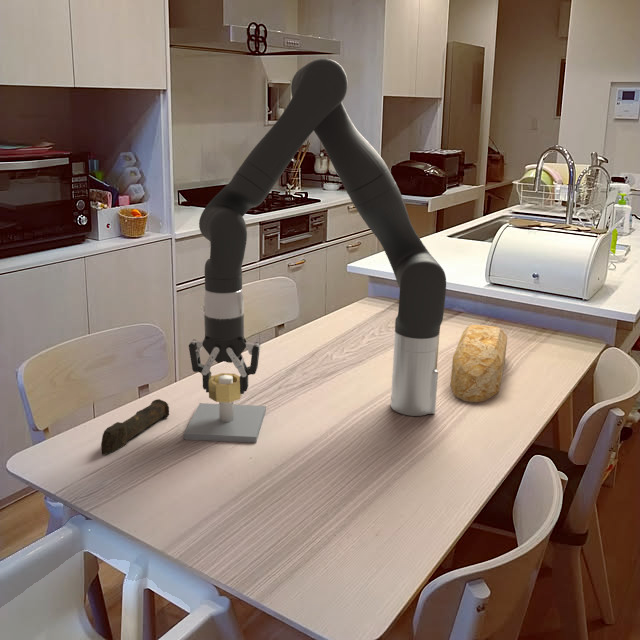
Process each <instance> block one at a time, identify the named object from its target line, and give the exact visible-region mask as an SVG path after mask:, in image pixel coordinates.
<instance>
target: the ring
mask: <svg viewBox="0 0 640 640" xmlns="http://www.w3.org/2000/svg"><path fill="white" fill-rule="evenodd" d="M222 375H230V376H232V377H233V383H231V384H219V377H220V376H222ZM240 376H241V375H238V374H236V373H228V372H227V373H226V372H224V373H223V372H221V373H219V374H218V373H217V374H215V375H211V378H210V380H209V392H208V398H209V399H210V400H212V401H214V402H216V403H219V402H233V401H234V402H236V401H239V400H241V398H242V395H243V394H240ZM234 402H233V403H234Z"/></svg>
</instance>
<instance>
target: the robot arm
mask: <svg viewBox="0 0 640 640" xmlns="http://www.w3.org/2000/svg"><path fill="white" fill-rule="evenodd" d="M348 87H349V82H348V76H347V74H346V71H345V70H344V68H343V66H342V65H341V64H340V63H338V61H336V60H332V59H329V58H319V59H314V60H312V61H309V63H308V62H307V64H305V65H304V66H302V67H301V68H299V69H298V70H297V71H296V73H295V74H294V76H293V77H292V80H291V85H290V92H291V97H292V98H291V99H290V100H289V103H288V105H287V106H286V107H285V109H284V111H283V113H282V114H281V115H280V117H279V118H278V120H276V122H275V123H274V125H273V126H272V127H271V128H270V129H269V130H268V131H267V133H266V134H265V135H263V137H262V138H261V139H260V141H259V142H257V144H256V145H255V147H254V148H253V149H252V150H251V152H250V153H249V154H248V155H247V157H246V158H245V160H243V162H242V163H241V165H240V166H239V168H238V169H237V170H236V173H235V174H234V175H233V177H232V178H231V180H230V181H229V182H228V184H226V185H225V186H224V187H223V188H222V189H221V190H220V191H219V192H218V193H217V194H216V195H215V196H213V198H212V199H211V200H210V201H209V202H208V204H206V206H205V208H203V210H202V213H201V215H200V217H199V220H198V221H199V222H198V227H199V231H200V233H201V235H202V236H203V237H204V238H205V239H206V240H208V241H210V242H209V243H210V252H209V258H208V259H207V260H206V261H205V265H204V297H203V313H204V315H203V316H204V339H203V340H197V339H192V340H191V341H190V342H189V344H188V350H189V358H190V362H191V363H190V364H191V369H192V372H194V373H200V374H201V375H202V388H203V390H205V393H209V380H210V378H211V376H212V371H211V368H212V366H213V364H214V363H215V362H216V363H222V362H226V363H231V364H232V363H233V365H234V366H235V367H234V368H235V369H237V370H238V373H239V376H240V394H242V395H245V392H247V390H248V387H249V376H250V375H255V374H257V373H256V372H257V371H258V367H259V359H260V352H261V343H260V342H259V341H256V342H255V343H253V342H248V341H246V337H245V302H244V294H243V292H244V291H243V268H242V267H243V262H244V257H245V252H246V247H247V240H248V239H247V238H248V233H247V232H248V231H247V225H246V220H245V219H244V216H245V215H246V213H247V212H248V211H249V210H250V209H253V208H255V207H258V206H260V205H261V204H262V203H263V202H264V200H265V199H266V198H267V197H268V195H269V193H270V192H271V190H272V189H273V188H274V186H275V184H277V182H278V181H279V179H280V178H281V177H282V175H283V173H284V172H285V170H286V169H287V167H288V166H289V165H290V163H291V162H292V159H294V157H295V156H296V155H297V153H298V151H299V150H300V149H301V147H302V146H303V144H304V143H305V141H307V140H308V138H309V137H310V136H311V134H312V133H313V132H314V133H315V135H316V136H317V138H318V140H319V141H320V142H321V144H322V146H323V148H324V151H325V152H326V154H327V156H328V159H329V161H330V162H331V165H332V166H333V168H334V170H335V172H336V174H337V175H338V178H339V180H340V181H341V183H342V186H343V187H344V189H345V191H346V193H347V195H348V197H349V198H350V200H351V202H352V204H353V206H354V208H355V209H356V211H357V212H358V213H359V216H361V217H360V218H362V220H363V221H364V223H365V224H366V226H367V227H368V228H369V230H370V231H371V233H372V234H373V235H374V236H375V238H377V240H378V242H379V243H380V245H381V246H382V249H383V250H384V253H385V255H386V257H387V259H388V261H389V264H390V266H391V269H392V272H393V274H394V278H395V280H396V283H397V285H398V287H399V294H398V295H399V298H398V310H397V311H398V313H397V315H396V318H395V320H394V321H395V322H394V337H393V338H394V339H393V340H394V341H393V357H392V373H391V374H392V375H391V393H390V394H391V395H390V407H391V409H392V410H393V411H395V412H396V413H399V414H401V415H404V416H411V417H419V416H420V417H421V416H427V415H428V414H436V406H437V405H436V404H437V392H438V380H439V371H438V358H439V345H440V333H441V332H440V330H441V325H442V324H443V323H442V322H443V319H444V313H445V304H446V303H445V302H446V295H447V294H446V293H447V276H446V273H445V270H444V268H443V267H442V266H441V265H440V264H439V262H438V261H437V260H436V259H435V258H434V257H433V256H432V254H431V253H430V251H429V250H428V249H427V247H426V246H425V245H424V243H423V241H422V240H421V238H420V237H419V235H418V234H417V232H416V230H415V228H414V226H413V224H412V223H411V218H410V217H409V213H408V210H407V207H406V204H405V201H404V198H403V196H402V193H401V190H400V188H399V187H398V185H397V184H398V183H397V182H396V181H395V179H394V176H393V175H392V173H391V171H390V169H389V168H388V165H387V163H386V162H385V160H384V159H383V157H381V155H380V154H379V153H378V151H377V149H375V148H374V147H373V146H372V144H370V142H369V141H368V140H367V139H366V138H365V137H364V136H363V135H362V133H361V132H360V131H359V130H358V129H357V127H356V126H355V125H354V123H353V121H352V119H351V118H350V116H349V114H348V112H347V110H346V108H345V106H344V104H343V100H344V99H345V97H346V95H347V92H348ZM202 347H203V349H204V350H205V351H206V352H207V353H208V355H209V356H208V359H207V360H206V362H205V364H202V360H201V355H200V352H201V351H202ZM245 349H247V352H248V354H249V355H250V356H251V358H250V365H249V366H248V365H247V363H246V361H245V358H244V357H243V352H244V351H245Z"/></svg>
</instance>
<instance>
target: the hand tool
mask: <svg viewBox="0 0 640 640" xmlns="http://www.w3.org/2000/svg"><path fill="white" fill-rule="evenodd" d="M169 415H170V407H169V403H168V402H167V401H164V400H162V399H160V398H159V399H157V398H156V399H154V400H153V401H151V403H150V404H149V405H148V406H146V407H144V408H143V409H139V410H138V411H137V412H136V413H135V414H134V415H132V416H130V418H127V419H126V420H124V421H123V422H119V421H117V422H115V423H113V424H112V425H111V426H108V427H107V428H106V429H105V430H104V431H103V433H102V437H101V443H100V445H101V450H100V451H101V456H105V455H108V454H112V453H113V452H115V451H118V450H120V449H121V448H123V447H126V445H127V443H128V441H129V440H131V439H132V438H133V437H135V436H137V435H138V434H141V433H142V432H143V431H144V430H145V429H147V428H149V427H150V426H152V425H153V424H155V423H156V422H159V420H161V419H162V418H163V419H167V418H168V417H169Z"/></svg>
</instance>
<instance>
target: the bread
mask: <svg viewBox="0 0 640 640" xmlns="http://www.w3.org/2000/svg"><path fill="white" fill-rule="evenodd" d="M461 333H462V334H461V336H460V339H459V341H458V342H457V343H458V344H457V345H456V348H455V351H454V354H453V356H452V363H451V375H450V387H451V389H452V393H453V396H454V397H456V398H458V399H460V400H462V401H463V402H470V403H480V402H484V401H487V400H490V398H492V397H493V396H495V395H496V394H498V393H499V392H500V388H501V383H502V377H503V372H504V368H505V362H506V352H507V345H508V336H507V334H506V333H505V331H504V330H502V329H501V328H499V327H498V326H492V325H491V326H489V325H482V324H471V325H468V326H467V327H466V328H464V330H463V331H462V332H461Z"/></svg>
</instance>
